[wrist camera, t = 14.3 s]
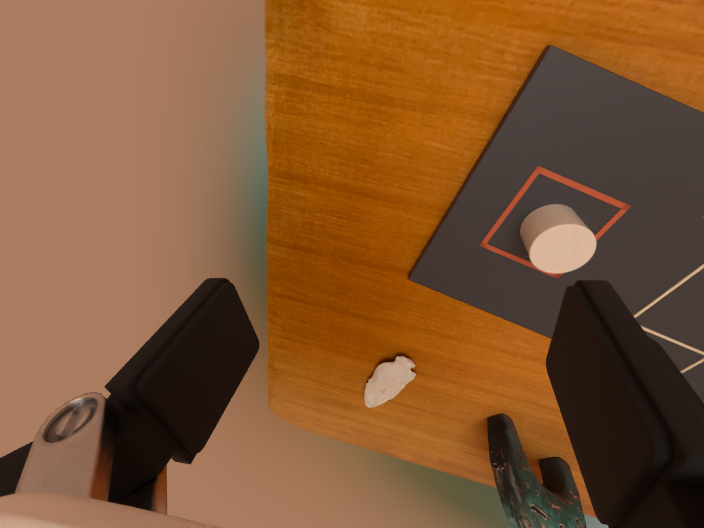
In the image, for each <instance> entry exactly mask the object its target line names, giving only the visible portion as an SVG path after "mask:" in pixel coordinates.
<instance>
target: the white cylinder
mask: <svg viewBox="0 0 704 528" xmlns="http://www.w3.org/2000/svg"><path fill="white" fill-rule="evenodd" d="M520 237H521V239H522V242H523V244H524V246H525V249H526V251H527V253H528V256H529V258H530V260H531V262H532V264H533V265H534V266H535V267H536V268H538V269H540V270H541V271H544V272H547V273H566V272H570V271H573V270H575V269H577V268H579V267H581V266H583V265H584V264H585V263H587V262H588V261H589V260H590V258H591V257H592V256H593V254H594V252H595V250H596V244H597V242H596V238H595V235H594V234H593V232H592V231H591V230H590V229H589V228H588V226H587V225H586V224H585V223H584V221H583V220H582V219H581V218H580V216H579V215H578V214H577V213H576V212H575V211H574V210H573V209H572V208H570V207H568V206H565V205H561V204H551V205H546V206H542V207H540V208H538V209H536V210H534V211H533V212H531V213H530V214H529V215H528V216H527V217H526V218H525V219H524V221H523V223H522V225H521V228H520Z"/></svg>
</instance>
